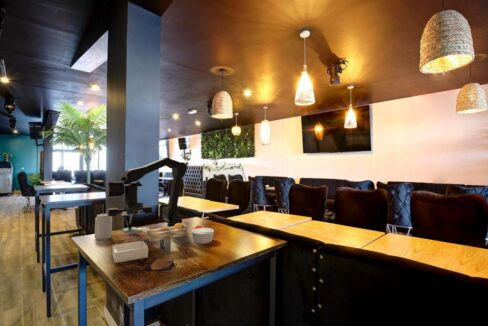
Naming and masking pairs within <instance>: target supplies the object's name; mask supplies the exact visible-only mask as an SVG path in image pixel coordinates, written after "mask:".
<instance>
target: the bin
mask: <svg viewBox="0 0 488 326" xmlns="http://www.w3.org/2000/svg"><path fill="white" fill-rule="evenodd" d="M112 258H113V262H114V264H119V263H123V262H128V261H133V260H140V259H141V260H142V259H145V258H149V247H148V245H147V244H146V242H145V241H144V240H139V241H138V240H137V241H133V242H132V241H131V242H125V243H120V244H119V243H118V244H112Z"/></svg>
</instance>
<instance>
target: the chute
mask: <svg viewBox="0 0 488 326" xmlns="http://www.w3.org/2000/svg"><path fill="white" fill-rule="evenodd" d="M180 224H182V226H183V229H177V230H174V226H173V227H167V226H166V227H161V228H160V227H159V228H154V229H150V228H149V227H148V226H144V227H143V226H142V227H137V228H136V227H135V226H132V227H131V229H129V228H128V227H126V228H125V227H123V229H122V230H123V232H124V234H133V233H138V232H142V233H143V235H144V236H145V237H146V238H147V239H148V241H149V242H155V241H159V240H162V239H165V237H168V236H170V237H171V239H174V240H175V241H176V242H178V244H181V245H182V244H187V243H190V236H189V235H188V226H187V225H186V224H184V223H183V222H182V223H180Z"/></svg>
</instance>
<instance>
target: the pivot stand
mask: <svg viewBox="0 0 488 326" xmlns="http://www.w3.org/2000/svg"><path fill="white" fill-rule="evenodd" d="M171 240H172V238H171V237H170V236H168V237H165V239H162V240H158V243H159V244H158V247H159V248H164V254H165V255H169V254H171V243H172V241H171Z"/></svg>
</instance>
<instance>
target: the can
mask: <svg viewBox="0 0 488 326" xmlns="http://www.w3.org/2000/svg"><path fill="white" fill-rule="evenodd" d="M94 221H95V222H94V223H95V224H94V239H95V240H97V241H104V240H105V241H106V240H109V239H110V238H111V237H112V235H113V234H112V233H113V216H108V215H107V213H99V214H97V215H96V217H95V219H94Z"/></svg>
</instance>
